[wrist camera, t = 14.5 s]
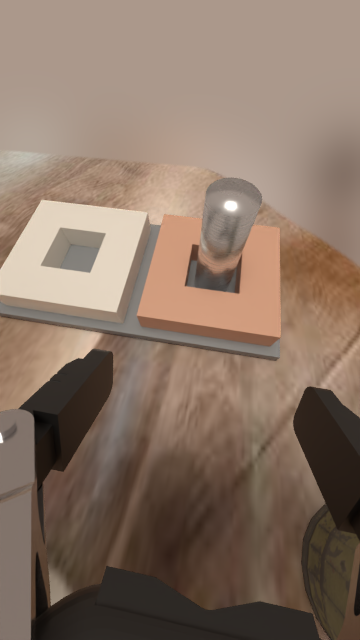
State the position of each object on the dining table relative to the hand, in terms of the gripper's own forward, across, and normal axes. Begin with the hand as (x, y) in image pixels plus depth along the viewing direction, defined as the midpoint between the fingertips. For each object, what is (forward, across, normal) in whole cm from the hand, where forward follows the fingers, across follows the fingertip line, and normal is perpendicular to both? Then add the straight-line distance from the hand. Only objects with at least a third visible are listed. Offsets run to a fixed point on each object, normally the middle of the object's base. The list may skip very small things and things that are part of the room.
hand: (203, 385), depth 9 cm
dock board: (+17, +7, 0) cm, 18 cm away
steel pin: (+16, 0, -1) cm, 16 cm away
